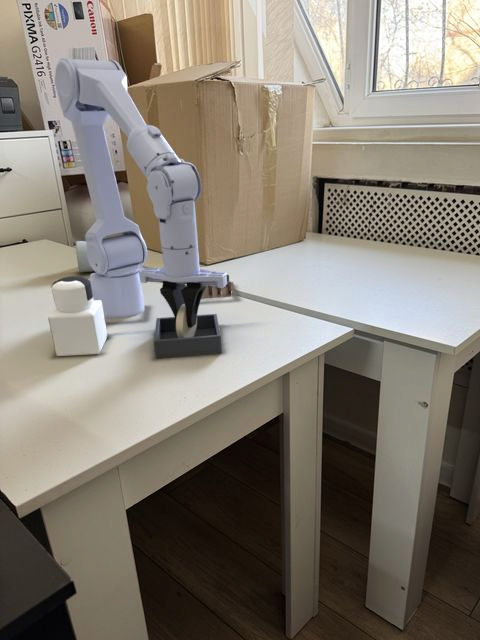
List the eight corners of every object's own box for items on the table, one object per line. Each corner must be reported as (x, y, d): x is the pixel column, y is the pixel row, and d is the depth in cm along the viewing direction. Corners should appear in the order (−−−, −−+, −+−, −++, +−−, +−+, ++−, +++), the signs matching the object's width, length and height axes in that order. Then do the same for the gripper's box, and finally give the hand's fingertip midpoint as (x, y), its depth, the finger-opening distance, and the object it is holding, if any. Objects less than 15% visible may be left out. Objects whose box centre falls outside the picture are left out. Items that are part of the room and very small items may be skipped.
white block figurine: (67, 339, 90) (53, 274, 85) (108, 337, 90) (97, 272, 85) (55, 357, 84) (40, 287, 78) (99, 354, 84) (87, 285, 79)
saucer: (177, 347, 84) (174, 311, 82) (192, 332, 90) (189, 298, 87) (184, 348, 84) (181, 312, 81) (198, 333, 90) (195, 298, 87)
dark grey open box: (156, 358, 82) (153, 341, 81) (158, 334, 91) (156, 318, 90) (221, 353, 83) (220, 336, 82) (217, 329, 93) (216, 313, 91)
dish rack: (175, 304, 105) (173, 289, 104) (175, 289, 114) (174, 275, 113) (237, 300, 107) (236, 285, 105) (233, 286, 116) (232, 271, 114)
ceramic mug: (113, 272, 127) (109, 242, 123) (79, 275, 125) (74, 245, 121) (112, 262, 136) (107, 233, 132) (79, 265, 133) (74, 236, 130)
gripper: (231, 241, 82) (234, 319, 88) (149, 237, 85) (158, 313, 91) (216, 252, 76) (221, 335, 82) (128, 248, 79) (139, 328, 85)
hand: (187, 324), depth 86 cm, fingers closed on saucer
